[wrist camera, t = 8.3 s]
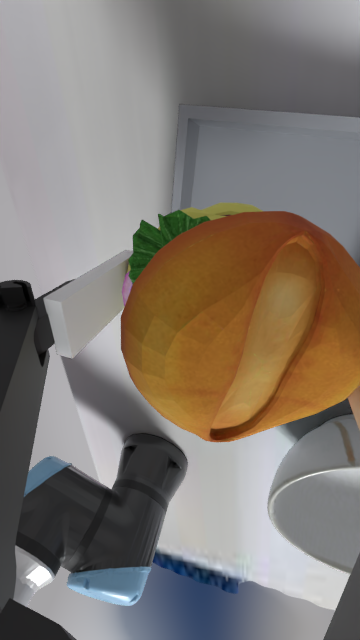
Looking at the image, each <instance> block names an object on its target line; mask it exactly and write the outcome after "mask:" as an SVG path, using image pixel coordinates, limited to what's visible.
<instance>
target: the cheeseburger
mask: <svg viewBox="0 0 360 640" xmlns="http://www.w3.org/2000/svg"><path fill="white" fill-rule="evenodd" d="M158 217H159V224H160V227H159V228H158V229H157V228H156V227H154V226H152V225H150V224H149V223H147V222H145V221H144V220H142V221H141V223H140V228H139V229H138V230H137V231H136V233H135V234H134V235H133V254H132V255H131V257H130V258H129V259H128V261H129V265H128V270H127V274H126V275H125V279H124V283H123V287H122V296H123V302H124V310H123V313H122V315H121V350H122V353H123V356H124V359H125V362H126V365H127V368H128V371H129V375H130V377H131V379H132V381H133V382H134V384H135V386H136V387H137V389H138V390H139V391H140V392H141V394H142V395H143V396H144V398H145V399H146V400H147V401H148V403H149V404H150V405H151V406H152V407H154V408H155V409H156V410H157V411H158V412H159V413H160V414H161V415H162V416H163V417H165V418H166V419H168V420H169V421H171V422H172V423H174V424H175V425H177V426H178V427H180V428H182V429H184V430H187V431H189V432H191V433H194V434H196V435H198V436H199V437H201V438H202V439H204V440H206V441H211V442H230V441H234V440H238V439H241V438H244V437H247V436H250V435H253V434H256V433H258V432H261V431H264V430H267V429H270V428H273V427H276V426H279V425H282V424H285V423H288V422H291V421H294V420H298V419H301V418H304V417H307V416H311V415H314V414H316V413H318V412H321V411H323V410H325V409H327V408H329V407H331V406H333V405H335V404H338V403H340V402H342V401H344V400H345V399H346V398H347V397H348V396H349V395H350V394H351V393H352V392H353V391H355V390H356V389H357V388H358V387H359V386H360V267H359V266H358V265H357V263H356V262H355V261H354V260H353V258H352V257H351V256H350V254H349V253H348V252H347V251H346V249H345V248H344V247H343V246H342V245H341V244H340V243H339V242H338V241H337V240H336V239H335V238H334V237H333V236H332V235H331V234H329V233H328V232H326V231H325V230H323V229H321V228H320V227H318V226H316V225H315V224H313V223H312V222H310V221H308V220H306V219H305V218H303V217H301V216H299V215H296V214H294V213H290V212H286V211H262V210H260V209H258V208H257V207H255V206H253V205H249V204H242V203H218V204H215V205H213V206H210V207H207V208H205V209H202V210H199V209H196V208H193V207H190V208H187V209H183V210H177V211H175V212H172V213H170V214H168V215H166V216H162V215H161V214H158Z"/></svg>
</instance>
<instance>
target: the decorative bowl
mask: <svg viewBox="0 0 360 640" xmlns="http://www.w3.org/2000/svg"><path fill="white" fill-rule="evenodd" d="M268 514H269V517H270V520H271V522H272V524H273V526H274V527H275V529H276V530H277V531H278V532H279V534H280V535H281V536H282V537H283V538H284V539H285V540H286V541H288V542H289V543H290V544H291V545H292V546H294V547H295V548H296V549H298V550H299V551H301V552H302V553H304V554H306V555H307V556H309V557H311V558H313V559H314V560H316V561H318V562H320V563H322V564H324V565H326V566H329V567H331V568H333V569H335V570H338V571H340V572H343V573H346V574H348V575H351V572H352V570H353V567H354V565H355V563H356V560H357V558H358V555H359V553H360V431H359V428H358V425H357V422H356V420H355V417H354V414H350V415H343V416H339V417H336V418H333V419H331V420H329V421H327V422H325V423H324V424H322V425H321V426H320V427H318V428H316V429H314V430H312V431H310V432H309V433H307V434H306V435H305V436H303V437H302V438H301V439H300V440H299V441H297V442H296V443H295V444H294V445H293V447H292V448H291V449H290V450H289V451H288V453H287V454H286V456H285V457H284V459H283V460H282V462H281V464H280V466H279V468H278V470H277V472H276V474H275V477H274V480H273V483H272V486H271V489H270V493H269V498H268Z"/></svg>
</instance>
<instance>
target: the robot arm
mask: <svg viewBox="0 0 360 640" xmlns="http://www.w3.org/2000/svg"><path fill="white" fill-rule="evenodd" d="M132 254H133V251H129V250H125V251H123V252H121V253H119V254H118V255H116V256H114V257H113V258H111V259H109V260H107V261H106V262H104V263H102V264H101V265H99V266H97V267H95V268H94V269H92V270H90V271H89V272H87V273H85V274H83V275H82V276H80V277H78V278H77V279H74V280H71V281H67V282H65V283H63V284H62V285H60V286H59V287H56V288H55V289H53V290H52V291H49V292H48V293H46V294H44V295H42V296H41V297H39V298H37V299H34V296H33V292H32V288H31V284H30V283H28V282H27V281H22V280H11V281H4V282H1V283H0V640H76V639H75V638H74V637H73V636H72V635H71V634H70V633H68V632H67V631H66V630H65V629H64V628H63V627H62V626H60V625H59V624H57V623H56V622H54V621H52V620H50V619H48V618H46V617H44V616H42V615H41V614H39V613H37V612H35V611H33V610H31V609H29V608H28V607H27V606H28V604H29V602H30V600H31V599H32V597H33V595H34V593H35V592H36V591H37V590H39V589H40V588H42V587H44V586H45V585H47V584H49V583H50V582H52V581H53V579H54V578H55V576H56V574H57V572H58V570H59V568H60V566H62V567H63V568H65V569H67V570H68V571H70V572H71V574H69V577H68V582H67V586H68V588H70V589H72V590H74V591H77V592H78V593H81V594H84V595H86V596H89V597H92V598H96V599H99V600H102V601H106V602H109V603H114V604H119V605H126V606H129V605H133V604H135V603H136V602H137V601H138V600H139V598H140V597H141V595H142V592H143V589H144V586H145V583H146V580H147V577H148V574H149V572H150V571H151V565H152V561H153V558H154V554H155V550H156V547H157V543H158V540H159V536H160V533H161V529H162V525H163V522H164V518H165V514H166V511H167V507H168V504H169V502H170V500H171V499H172V497H173V496H174V494H175V492H176V491H177V489H178V488H179V486H180V484H181V483H182V481H183V480H184V477H185V475H186V471H187V467H188V463H187V460H186V458H185V456H184V455H183V453H182V452H181V451H180V450H179V449H178V448H177V447H175V446H174V445H172V444H171V443H169V442H168V441H166V440H164V439H161V438H159V437H156V436H153V435H148V434H135V435H132V436H130V437H129V438H128V439H127V440H126V442H125V444H124V446H123V448H122V451H121V457H120V462H119V468H118V474H117V478H116V481H115V483H114V485H113V487H112V489H109V488H108V487H106V486H105V485H103V484H101V483H100V482H98V481H96V480H95V479H93V478H91V477H90V476H88V475H87V474H85V473H83V472H82V471H80V470H79V469H77V468H76V467H74V466H72V464H71V463H67V462H65V461H63V460H61V459H59V458H57V457H54V456H50V457H47V458H44V459H43V460H41V461H40V462H39V463H37V464H36V465H35V466H34V467H33V468H32V469H31V470H30V471H29V465H30V460H31V455H32V449H33V444H34V438H35V433H36V428H37V422H38V416H39V411H40V406H41V401H42V395H43V389H44V384H45V379H46V374H47V368H48V363H49V357H50V356H49V351H48V348H50V347H51V346H52V345H53V344H55V348H56V352H57V354H58V355H61V356H64V357H68V358H71V359H73V358H74V357H75V356H76V355H77V354H78V353H79V352H80V351H81V350H82V349H83V348H84V347H85V346H86V345H87V344H88V343H89V342H90V341H91V340H92V339H93V338H94V337H95V336H96V335H97V334H98V333H99V332H100V331H101V330H102V329H103V328H104V327H105V326H106V325H107V324H108V323H109V322H110V321H111V320H112V319H113V318H114V317H115V316H116V315H117V314H118V313H119V312H120V311H121V310H122V309H123V308H124V302H123V296H122V287H123V283H124V279H125V275H126V274H127V270H128V265H129V261H128V259H129V258H130V257H131V255H132ZM347 398H348V400H349V403H350V406H351V409H352V411H353V414H354V417H355V420H356V422H357V425H358V428H359V431H360V386H359V387H358V388H357V389H356V390H355V391H353V392H352V393H351V394H350V395H349V396H348V397H347ZM28 471H29V472H28ZM324 640H360V553H359V555H358V558H357V560H356V563H355V565H354V567H353V570H352V572H351V575H350V577H349V579H348V582H347V584H346V587H345V589H344V591H343V594H342V596H341V599H340V601H339V603H338V606H337V608H336V611H335V613H334V615H333V618H332V620H331V623H330V625H329V627H328V630H327V632H326V635H325V637H324Z"/></svg>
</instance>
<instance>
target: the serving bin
mask: <svg viewBox="0 0 360 640" xmlns="http://www.w3.org/2000/svg"><path fill="white" fill-rule="evenodd" d="M218 203H242V204H249V205H253V206H255V207H257V208H258V209H260V210H262V211H286V212H290V213H294V214H296V215H299V216H301V217H303V218H305V219H306V220H308V221H310V222H312V223H313V224H315V225H316V226H318V227H320V228H321V229H323V230H325V231H326V232H328V233H329V234H331V235H332V236H333V237H334V238H335V239H336V240H337V241H338V242H339V243H340V244H341V245H342V246H343V247H344V248H345V249H346V251H347V252H348V253H349V254H350V256H351V257H352V258H353V260H354V261H355V262H356V263H357V265H358V266H359V267H360V117H347V116H333V115H320V114H306V113H293V112H279V111H266V110H252V109H239V108H225V107H212V106H198V105H185V104H179V116H178V129H177V143H176V157H175V170H174V184H173V198H172V211H171V213H172V212H175V211H177V210H183V209H187V208H190V207H193V208H196V209H199V210H202V209H205V208H207V207H210V206H213V205H215V204H218Z"/></svg>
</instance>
